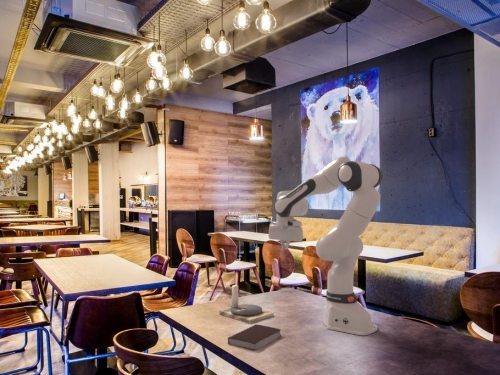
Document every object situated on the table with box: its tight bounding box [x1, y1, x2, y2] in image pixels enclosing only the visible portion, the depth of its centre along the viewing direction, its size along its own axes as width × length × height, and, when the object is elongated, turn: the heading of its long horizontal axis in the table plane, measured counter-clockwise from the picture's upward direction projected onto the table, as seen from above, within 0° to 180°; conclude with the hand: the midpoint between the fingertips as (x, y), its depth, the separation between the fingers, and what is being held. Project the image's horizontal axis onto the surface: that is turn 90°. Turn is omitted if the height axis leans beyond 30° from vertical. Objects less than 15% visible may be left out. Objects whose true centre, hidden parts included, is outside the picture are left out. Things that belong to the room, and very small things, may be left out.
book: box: [227, 324, 282, 352], centre depth 149 cm, size 12×19×3 cm, turn 146°
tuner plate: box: [219, 307, 274, 324], centre depth 181 cm, size 20×16×2 cm
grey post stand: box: [228, 284, 263, 315], centre depth 182 cm, size 17×15×11 cm
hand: (285, 249), depth 197 cm, fingers closed
